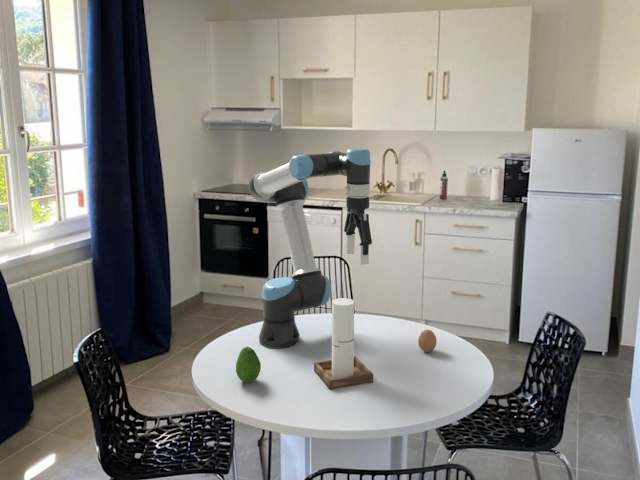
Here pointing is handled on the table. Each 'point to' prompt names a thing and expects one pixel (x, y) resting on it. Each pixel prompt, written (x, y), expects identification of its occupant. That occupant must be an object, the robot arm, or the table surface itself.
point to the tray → (360, 377)
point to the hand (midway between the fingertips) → (357, 258)
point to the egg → (427, 340)
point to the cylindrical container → (342, 337)
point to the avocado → (248, 365)
